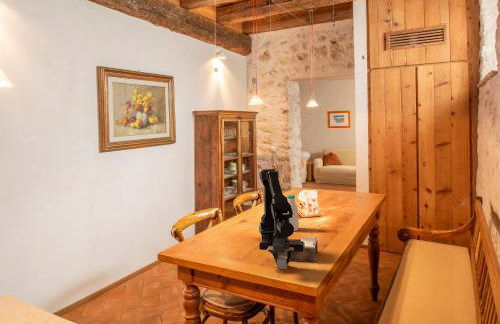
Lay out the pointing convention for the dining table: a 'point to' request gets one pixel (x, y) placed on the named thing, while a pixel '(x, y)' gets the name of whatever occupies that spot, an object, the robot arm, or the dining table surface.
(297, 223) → the milk bottle
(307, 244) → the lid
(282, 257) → the block
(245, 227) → the dining table surface
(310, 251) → the box
